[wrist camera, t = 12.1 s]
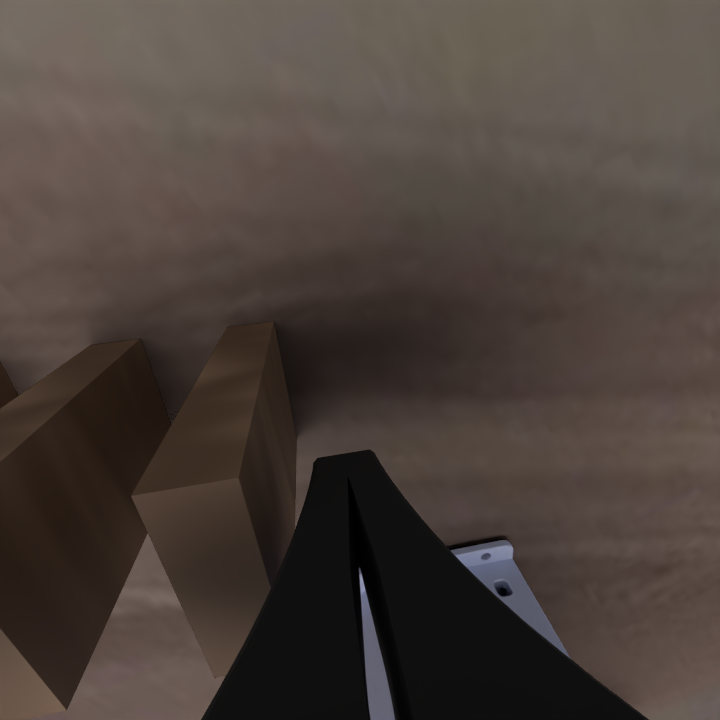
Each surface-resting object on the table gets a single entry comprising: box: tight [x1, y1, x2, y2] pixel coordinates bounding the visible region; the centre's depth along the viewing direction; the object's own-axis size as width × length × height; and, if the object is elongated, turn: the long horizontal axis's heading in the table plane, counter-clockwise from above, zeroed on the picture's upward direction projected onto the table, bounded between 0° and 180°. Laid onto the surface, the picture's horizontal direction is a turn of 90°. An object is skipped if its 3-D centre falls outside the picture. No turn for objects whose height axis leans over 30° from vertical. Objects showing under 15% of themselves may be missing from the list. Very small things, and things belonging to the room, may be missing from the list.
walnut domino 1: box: [0, 339, 171, 720], centre depth 10 cm, size 2×5×8 cm, turn 6°
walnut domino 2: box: [131, 321, 297, 678], centre depth 10 cm, size 2×5×8 cm, turn 5°
